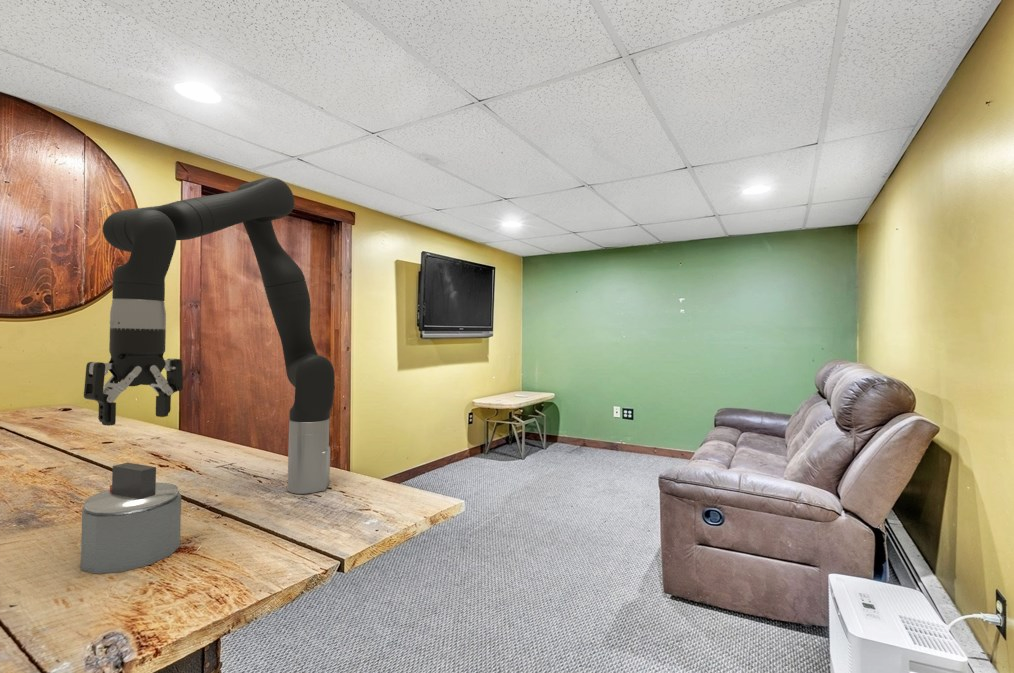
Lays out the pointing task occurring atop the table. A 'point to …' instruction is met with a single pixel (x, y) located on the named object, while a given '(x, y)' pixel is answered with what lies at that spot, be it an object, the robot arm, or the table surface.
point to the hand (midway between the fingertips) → (136, 420)
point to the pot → (129, 538)
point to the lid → (131, 492)
